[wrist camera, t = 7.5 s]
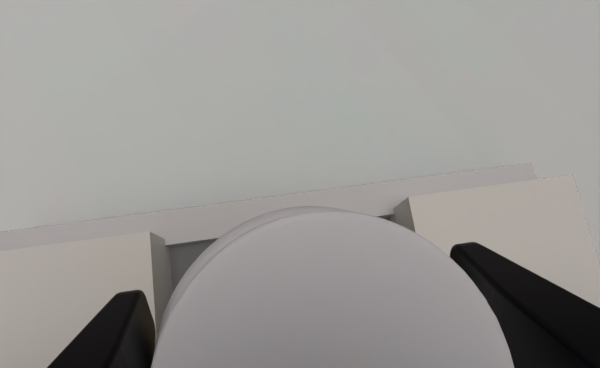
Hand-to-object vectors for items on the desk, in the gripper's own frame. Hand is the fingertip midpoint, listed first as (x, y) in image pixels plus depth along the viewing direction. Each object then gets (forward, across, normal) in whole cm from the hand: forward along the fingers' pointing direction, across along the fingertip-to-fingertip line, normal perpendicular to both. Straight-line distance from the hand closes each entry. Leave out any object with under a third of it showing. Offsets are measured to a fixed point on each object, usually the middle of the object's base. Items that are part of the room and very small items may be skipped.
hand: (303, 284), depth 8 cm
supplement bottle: (+4, 0, +6) cm, 7 cm away
